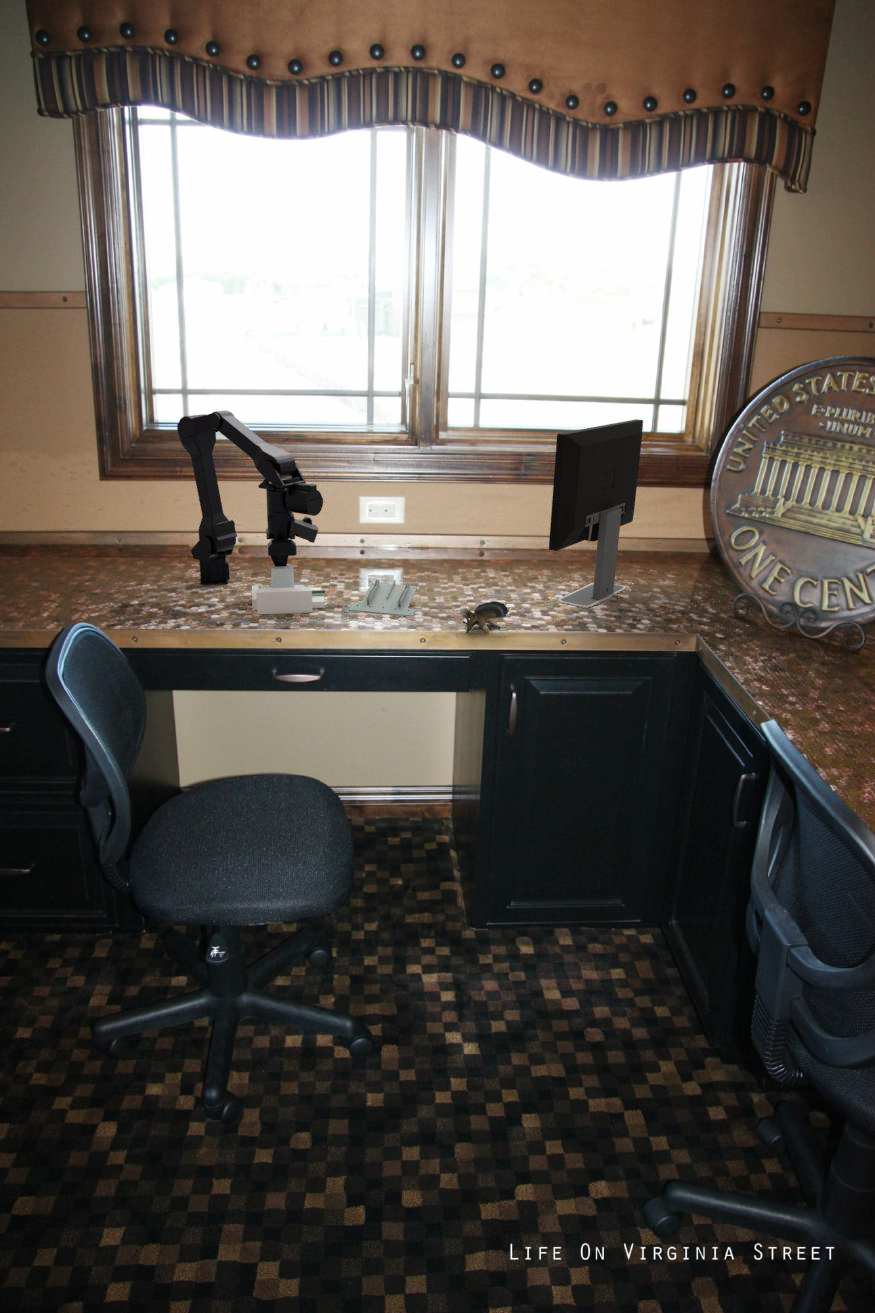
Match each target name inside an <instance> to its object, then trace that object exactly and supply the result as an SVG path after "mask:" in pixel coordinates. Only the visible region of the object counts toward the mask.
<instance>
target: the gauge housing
mask: <svg viewBox="0 0 875 1313" xmlns="http://www.w3.org/2000/svg"><path fill="white" fill-rule="evenodd" d="M312 590H322V587H311V586H305V587H293V588H261V587H260V588H259V584H258V585H251V598H252V599H251V602H252V603H251V605H252V611H257V615H276V614H278V615H279V614H305V613H313V609H325V608H326V607H325V606H326V604H325V603H326V601H325V598H324V593H318V594H312Z"/></svg>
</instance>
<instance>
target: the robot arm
mask: <svg viewBox="0 0 875 1313" xmlns="http://www.w3.org/2000/svg"><path fill="white" fill-rule="evenodd" d="M176 430H177V433H178V437H179V440H180V443H181V446H182V447H183V448H184V449H185V450H186V452H187V453H188V454H189V455H190V459H191V464H192V468H193V469H192V470H193V476H194V480H195V485H196V491H197V494H198V501H199V505H200V511H201V512H200V513H201V516H202V518H201V520H200V524H199V527H198V541H197V542H196V544H195V545H194V546H193V547H192V548H191V550H190V552H191V556H192V559H193V560H197V561H198V560H199V573H200V574H199V576H200V581H199V585H200V586H201V585H202V586H206V585H227V584H228V583H229V582H228V581H229V580H230V577H231V576H230V561H229V560H227V556H231V555H233V551H234V547H235V545H236V544H237V537H238V534H237V531H236V524H235V523H236V522H235V521H234V520H233V519H231V520H229V518H228V517H227V516H226V515H225V514H224V510H223V503H222V499H221V498H222V497H221V494H220V492H221V491H220V488H219V483H218V478H217V473H216V466H215V460H214V457H213V456H214V455H213V452H214V448H215V445H216V442H217V434H216V433H218V432H219V433H220V434H222V436H224V437H225V438H226V439H227V440H229V442H231V443H232V444H233V445H235V446H236V447H237V448H238V449H239V450H240V451H242V452H244V453H245V455H247V456H248V457H249V458H250V459H251V461H253V464H254V467H255V469H256V470H257V471H258V472H259V474H260V475H261V476H262V477H263V478H264V479H263V480H262V482H261V483H260V484H258V486H257V487H258V488H259V489H264V490H265V493H266V496H265V497H266V518H267V521H266V522H267V528H266V530H265V531H266V534H265V535H266V540H270V541H268V543H267V556H269V557H270V558H271V561H272V563H273V565H274V567H280V566H288V561H289V560H288V559H289V557H293V556H297V543H296V542H295V541H294V540H296V537H297V538H300V539H302V540H306V541H308V542H309V543H312V544H315V541H316V539H317V536H318V534H319V527H318V526H317V525H316V524H313V519H312V518H311V516H312V517H315V516H317V515H319V514H320V512H321V511H322V509H323V505H324V497H323V496H322V495H323V494H322V493H321V491H320V490H318V487H317V483H310V484H309V483H307V481H306V478H305V477H304V475H303V474H302V472H301V470H300V469H299V467H298V464H297V463H296V458H295V457H294V456H293V455H292V454H291V453H290V452H288V451H286V450H285V449H283V448H280V447H278V446H275V445H272V444H269V443H268V442H266V441H265V440H263V439H262V438H261V437H260V436H259V435H257V433H255V432H254V431H252V430H251V429H250V428H249V427H247V426H246V425H245V424H244V423H243V422H242V421H240V420H239V419H238V418H236V417H235V415H234V414H233V413H232V411H230V410H217V411H213V412H211V413H208V414H205V413H203V414H194V415H185V416H182V417H181V418H180V419H179V422H177V424H176ZM295 514H300V515H306V516H304V517H303V518H302V519H296V518H295ZM308 516H310V517H308Z"/></svg>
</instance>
